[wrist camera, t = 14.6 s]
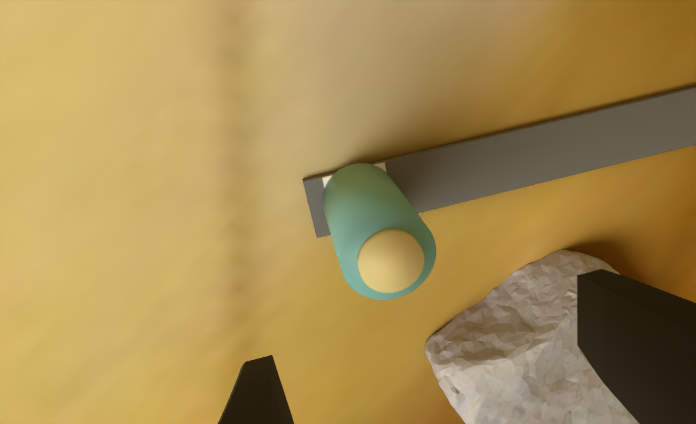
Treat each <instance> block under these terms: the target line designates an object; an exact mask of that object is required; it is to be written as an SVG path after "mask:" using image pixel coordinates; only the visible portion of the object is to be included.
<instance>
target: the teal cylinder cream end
mask: <svg viewBox="0 0 696 424" xmlns="http://www.w3.org/2000/svg"><path fill="white" fill-rule="evenodd" d="M322 206H323V210H324V213H325V217H326V220H327V223H328V227H329V230H330V233H331V237H332V240H333V243H334V246H335V250H336V253H337V256H338V260H339V263H340V266H341V270H342V273H343V276H344V278H345V280H346V281H347V283H348V284H349V285H350V287H351V288H352V289H354V290H355V291H356V292H357V293H359V294H361V295H363V296H365V297H368V298H371V299H377V300H388V299H394V298H398V297H401V296H404V295H406V294H408V293H410V292H412V291H413V290H415V289H416V288H417V287H419V286H420V285H421V284H422V283H423V282H424V281H425V279H426V278H427V277H428V275H429V274H430V272H431V270H432V268H433V265H434V262H435V258H436V245H435V240H434V238H433V235H432V233H431V232H430V230H429V229H428V227H427V226H426V225H425V223H424V222H423V221H422V219H421V218H420V217H419V215H418V214H417V212H416V211H415V210H414V208H413V207H412V206H411V204H410V203H409V202H408V200H407V199H406V198H405V196H404V195H403V194H402V192H401V191H400V189H399V188H398V187H397V185H396V184H395V183H394V181H393V180H392V179H391V177H390V176H389V175H388V174H387V173H386V172H385V171H384V170H383V169H381V168H379V167H378V166H375V165H373V164H368V163H356V164H351V165H348V166H346V167H343V168H342V169H340V170H338V171H337V172H336V173H335V174H334V175H333V176H332V177H331V178H330V179H329V180H328V182H327V184H326V186H325V188H324V191H323V196H322Z"/></svg>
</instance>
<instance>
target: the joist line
mask: <svg viewBox="0 0 696 424" xmlns="http://www.w3.org/2000/svg"><path fill="white" fill-rule="evenodd" d="M692 145H696V86H692V87H688V88H684V89H679V90H675V91H671V92H667V93H663V94H658V95H654V96H650V97H646V98H642V99H637V100H633V101H629V102H625V103H621V104H616V105H612V106H608V107H604V108H599V109H595V110H591V111H587V112H583V113H578V114H574V115H570V116H566V117H562V118H557V119H553V120H549V121H545V122H541V123H536V124H532V125H528V126H524V127H520V128H515V129H511V130H507V131H503V132H499V133H494V134H490V135H486V136H482V137H478V138H473V139H469V140H465V141H461V142H457V143H452V144H448V145H444V146H440V147H436V148H431V149H427V150H423V151H419V152H415V153H410V154H406V155H402V156H398V157H394V158H389V159H385V160H381V161H377V162H373V163H368V164H373V165H375V166H378V167H379V168H381V169H383V170H384V171H385V172H386V173H387V174H388V175H389V176H390V177H391V179H392V180H393V181H394V183H395V184H396V185H397V187H398V188H399V189H400V191H401V192H402V194H403V195H404V196H405V198H406V199H407V200H408V202H409V203H410V204H411V206H412V207H413V208H414V210H415V211H416V212H417V213H420V212H424V211H429V210H433V209H437V208H441V207H445V206H449V205H453V204H457V203H461V202H465V201H469V200H473V199H477V198H481V197H485V196H489V195H493V194H497V193H502V192H506V191H510V190H514V189H518V188H522V187H526V186H530V185H534V184H538V183H542V182H546V181H550V180H554V179H558V178H562V177H566V176H570V175H574V174H579V173H583V172H587V171H591V170H595V169H599V168H603V167H607V166H611V165H615V164H619V163H623V162H627V161H631V160H635V159H639V158H643V157H647V156H652V155H656V154H660V153H664V152H668V151H672V150H676V149H680V148H684V147H688V146H692ZM336 172H337V171H335V172H330V173H326V174H322V175H318V176H314V177H309V178H305V179H303V183H304V187H305V191H306V195H307V199H308V203H309V208H310V212H311V216H312V220H313V224H314V228H315V232H316V236H317V238H319V237H323V236H327V235H331V233H330V230H329V227H328V223H327V220H326V217H325V213H324V210H323V206H322V196H323V191H324V188H325V186H326V184H327V182H328V180H329V179H330V178H331V177H332V176H333V175H334V174H335V173H336Z"/></svg>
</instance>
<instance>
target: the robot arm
mask: <svg viewBox="0 0 696 424" xmlns="http://www.w3.org/2000/svg"><path fill="white" fill-rule="evenodd" d="M577 345H578V347H579V348H580V350H581V351H582V353H583V354H584V356H585V357H586V359H587V360H588V362H589V363H590V365H591V366H592V368H593V369H594V371H595V372H596V373H597V375H598V376H599V378H600V379H601V380H602V382H603V383H604V384H605V385H606V387H607V388H608V389H609V390H610V391H611V392H612V393H613V395H614V396H615V397H616V398H617V399H618V400H619V401H620V403H621V404H622V405H623V406H624V407H625V408H626V409H627V410H628V412H629V413H630V414H631V415H632V416H633V417H634V418H635V419H636V420H637V422H638V423H639V424H696V303H694V302H691V301H689V300H686V299H683V298H681V297H678V296H675V295H673V294H670V293H667V292H665V291H662V290H659V289H657V288H654V287H652V286H649V285H646V284H644V283H641V282H638V281H636V280H633V279H630V278H628V277H625V276H622V275H619V274H616V273H613V272H610V271H607V270H604V269H599V270H595V271H592V272H588V273H584V274H580V275H577ZM218 424H294V421H293V418H292V415H291V412H290V409H289V406H288V403H287V400H286V397H285V394H284V390H283V387H282V384H281V381H280V378H279V375H278V372H277V369H276V366H275V363H274V359H273V356H272V355H270V356H266V357H263V358H259V359H255V360H251V361H247V362H245V363H244V365H243V366H242V367H241V370H240V373H239V375H238V378H237V381H236V383H235V386H234V388H233V391H232V393H231V395H230V398H229V400H228V402H227V405H226V407H225V409H224V412H223V414H222V416H221V418H220V420H219V422H218Z"/></svg>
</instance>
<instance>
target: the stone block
mask: <svg viewBox="0 0 696 424" xmlns="http://www.w3.org/2000/svg"><path fill="white" fill-rule="evenodd" d="M599 269H604V270H607V271H610V272H613V273H616V274H619V275H620V273H619V272H618V271H615V270H614V269H613V268H611V266H610V265H608V264H607V263H606V262H604V261H602V260H600V259H599V258H597V257H595V256H590V255H586V254H584V253H581V252H572V251H569V250H565V249H561V250H559V251H557V252H554V253H551V254H550V255H548V256H546V257H545V258H542V259H540V260H538V261H535V262H533V263H530V264H527V265H525V266H524V267H522V268H520V269H518V270H516V271H515V272H514V273H513V274H512V275H511V276H510V277H508V278H507V279H506V280H505V281H504V282H503V283H502V284H500V285H499V286H498V287H497V288H494V289H492V291H491V292H490V293H489V294H488V296H487V297H486V298H485V299H484V300H483V301H481V302H480V303H478V304H476V305H475V306H474V307H472V308H469V309H467V310H466V311H464V312H463V313H461V314H459V315H457V316H456V317H455V318H454V319H453V320H452V321H451V322H450V323H449V324H447V325H446V326H445V327H444V328H443V329H442V330H440V331H439V332H437V333H435V334H434V335H432V336H430V338H429V339H428V340H427V341H426V344H425V355H426V356H427V358H428V360H429V362H430V363H431V365H432V369H433V372H434V374H435V376H436V378H437V379H438V381H439V385H440V387H441V388H442V390H443V391H444V393H445V395H446V396H447V398H448V400H449V402H450V404H451V405H452V406H453V407H454V408H455V410H456V411H457V412H458V414H459V415H460V416H461V418H462V419H463V421H464V422H465V423H466V424H639V423H638V422H637V420H636V419H635V418H634V417H633V416H632V415H631V414H630V413H629V412H628V410H627V409H626V408H625V407H624V406H623V405H622V404H621V403H620V401H619V400H618V399H617V398H616V397H615V396H614V395H613V393H612V392H611V391H610V390H609V389H608V388H607V387H606V385H605V384H604V383H603V382H602V380H601V379H600V378H599V376H598V375H597V373H596V372H595V371H594V369H593V368H592V366H591V365H590V363H589V362H588V360H587V359H586V357H585V356H584V354H583V353H582V351H581V350H580V348H579V347H578V345H577V275H580V274H584V273H588V272H592V271H595V270H599Z"/></svg>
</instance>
